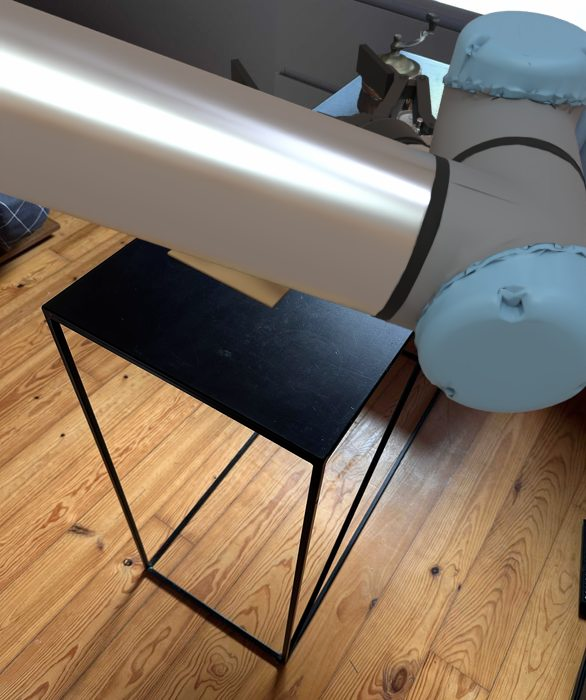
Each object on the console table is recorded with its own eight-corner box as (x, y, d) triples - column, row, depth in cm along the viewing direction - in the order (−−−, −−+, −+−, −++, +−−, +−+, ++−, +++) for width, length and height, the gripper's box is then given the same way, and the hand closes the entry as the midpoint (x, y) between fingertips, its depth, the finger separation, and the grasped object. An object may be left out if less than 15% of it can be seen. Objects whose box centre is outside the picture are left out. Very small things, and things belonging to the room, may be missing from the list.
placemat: (272, 308, 81) (272, 306, 81) (167, 254, 87) (167, 252, 87) (353, 224, 93) (354, 222, 93) (257, 182, 99) (257, 180, 99)
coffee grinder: (437, 123, 114) (462, 21, 101) (395, 154, 107) (416, 49, 93) (381, 99, 119) (397, -1, 106) (336, 128, 111) (348, 24, 98)
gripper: (246, 250, 49) (181, 117, 61) (510, 196, 55) (402, 86, 68) (245, 167, 43) (173, 39, 55) (540, 118, 49) (416, 13, 62)
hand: (299, 64), depth 62 cm, fingers open, 13 cm apart
